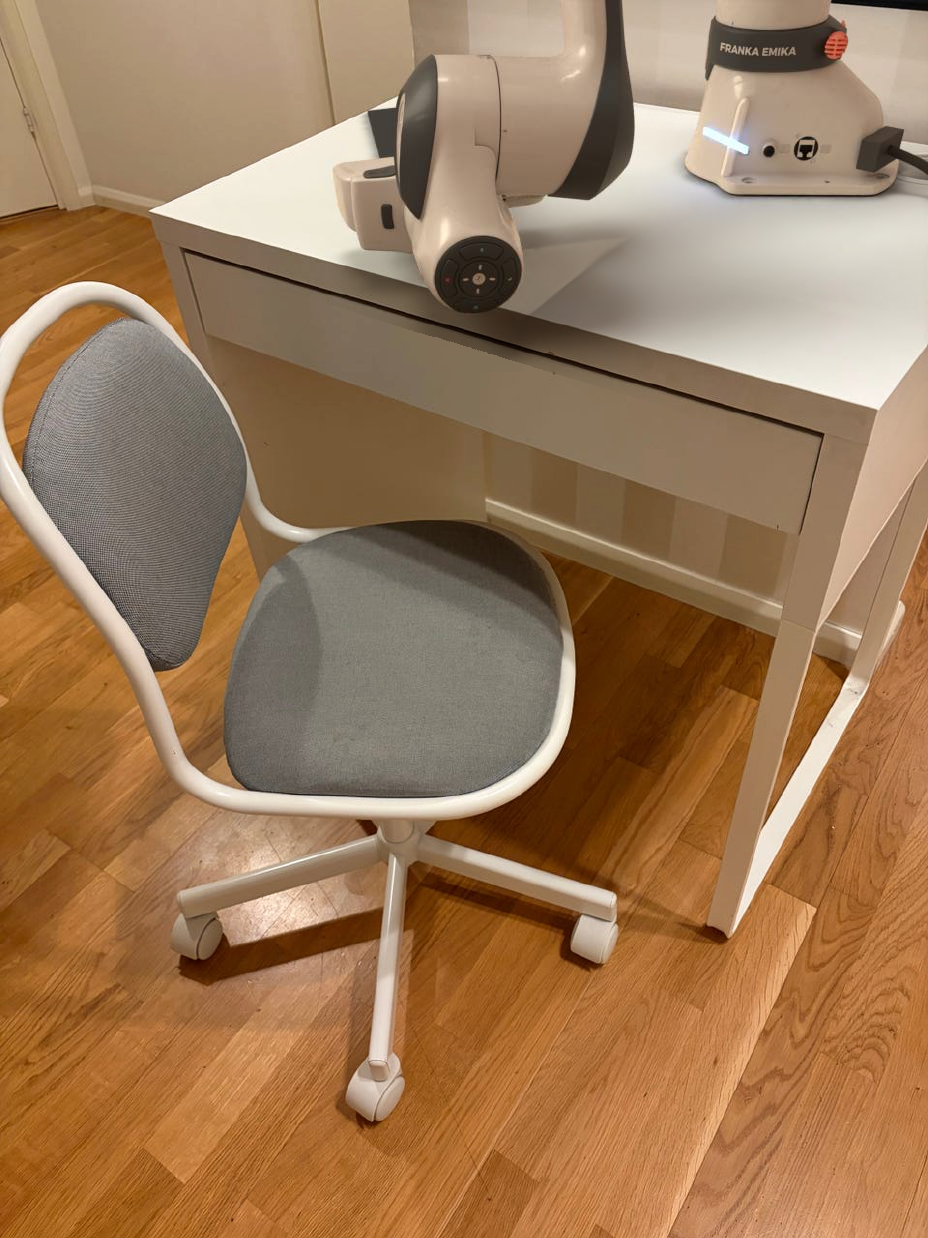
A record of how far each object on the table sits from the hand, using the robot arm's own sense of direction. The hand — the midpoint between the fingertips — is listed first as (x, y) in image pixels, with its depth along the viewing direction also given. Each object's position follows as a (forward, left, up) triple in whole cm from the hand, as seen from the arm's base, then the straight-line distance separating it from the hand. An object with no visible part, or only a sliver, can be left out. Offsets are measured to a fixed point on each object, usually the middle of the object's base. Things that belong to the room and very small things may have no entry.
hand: (430, 153), depth 95 cm
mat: (+9, -20, -7) cm, 23 cm away
